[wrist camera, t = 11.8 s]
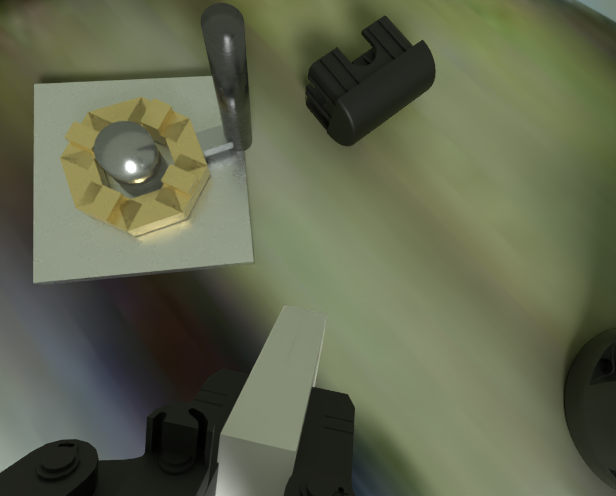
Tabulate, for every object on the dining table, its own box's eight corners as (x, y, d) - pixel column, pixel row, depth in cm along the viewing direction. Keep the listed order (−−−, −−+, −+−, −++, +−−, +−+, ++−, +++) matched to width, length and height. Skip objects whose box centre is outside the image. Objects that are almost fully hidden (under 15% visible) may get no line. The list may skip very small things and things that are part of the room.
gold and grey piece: (96, 249, 36) (-23, 191, 21) (60, 134, 37) (-74, 4, 23) (272, 189, 38) (276, 100, 24) (231, 84, 40) (210, -62, 25)
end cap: (345, 160, 41) (360, 127, 35) (299, 106, 42) (305, 63, 36) (419, 105, 43) (447, 64, 37) (375, 54, 44) (394, 5, 37)
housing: (237, 83, 42) (232, 39, 35) (254, 264, 38) (251, 250, 32) (42, 93, 40) (0, 47, 33) (42, 284, 36) (-5, 274, 30)
